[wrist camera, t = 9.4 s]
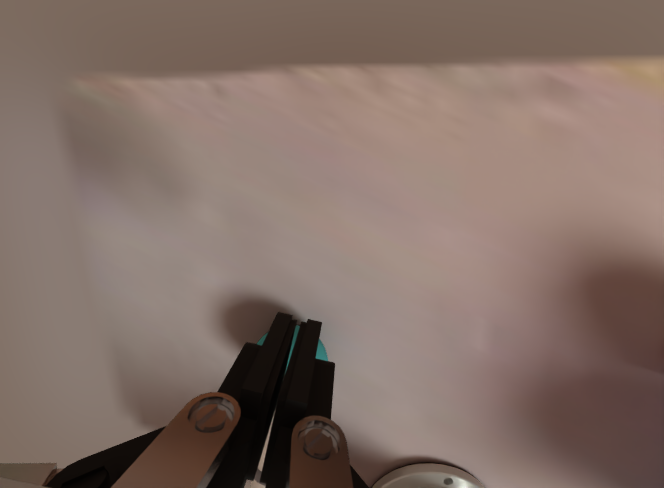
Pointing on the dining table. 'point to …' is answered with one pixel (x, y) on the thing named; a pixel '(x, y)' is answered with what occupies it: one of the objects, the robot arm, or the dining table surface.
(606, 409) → the dining table surface
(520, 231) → the dining table surface
